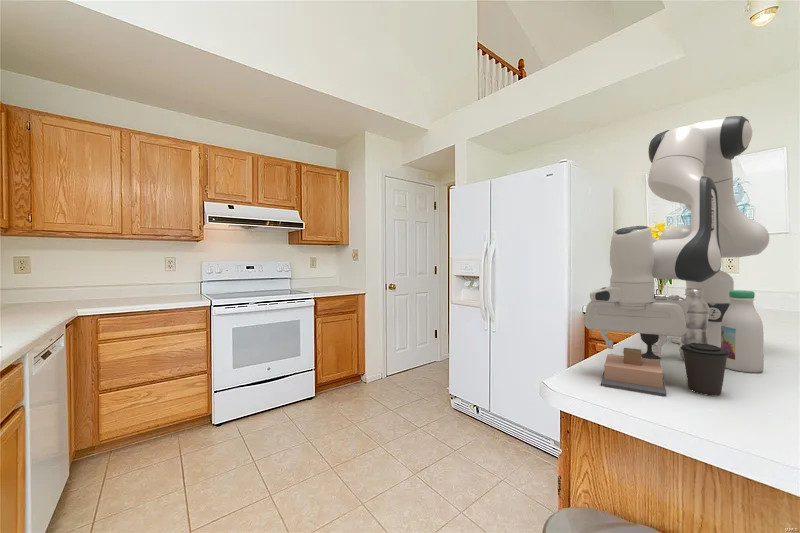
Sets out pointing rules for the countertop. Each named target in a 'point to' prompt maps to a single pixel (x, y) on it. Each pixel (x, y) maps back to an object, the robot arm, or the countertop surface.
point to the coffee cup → (705, 367)
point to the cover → (633, 369)
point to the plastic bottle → (695, 319)
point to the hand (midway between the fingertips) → (632, 350)
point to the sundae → (649, 345)
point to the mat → (634, 387)
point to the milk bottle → (743, 333)
